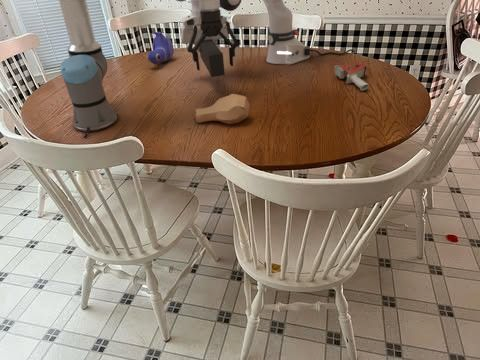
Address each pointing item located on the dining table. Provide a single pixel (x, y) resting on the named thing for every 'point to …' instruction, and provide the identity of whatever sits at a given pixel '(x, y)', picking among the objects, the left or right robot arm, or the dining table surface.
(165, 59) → the toy
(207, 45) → the bar
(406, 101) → the dining table surface
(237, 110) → the squash
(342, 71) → the tape dispenser
